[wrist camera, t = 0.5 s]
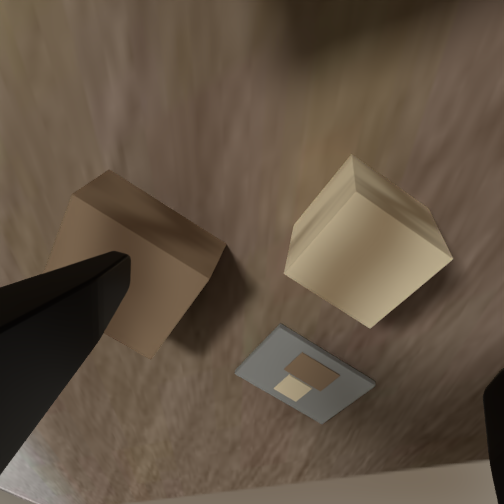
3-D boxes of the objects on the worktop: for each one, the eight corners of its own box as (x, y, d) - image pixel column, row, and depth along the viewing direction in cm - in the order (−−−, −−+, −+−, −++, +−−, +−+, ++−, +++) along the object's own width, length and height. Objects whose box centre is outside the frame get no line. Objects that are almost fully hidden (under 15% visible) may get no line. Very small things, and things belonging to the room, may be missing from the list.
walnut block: (227, 241, 23) (209, 279, 20) (173, 318, 28) (150, 359, 24) (111, 167, 22) (71, 194, 19) (73, 259, 26) (35, 294, 23)
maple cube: (428, 208, 20) (453, 259, 16) (363, 270, 23) (370, 328, 18) (351, 153, 19) (355, 191, 15) (293, 224, 22) (284, 273, 18)
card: (374, 381, 27) (375, 387, 26) (322, 419, 30) (321, 425, 29) (280, 323, 26) (279, 328, 25) (235, 369, 29) (234, 374, 28)
